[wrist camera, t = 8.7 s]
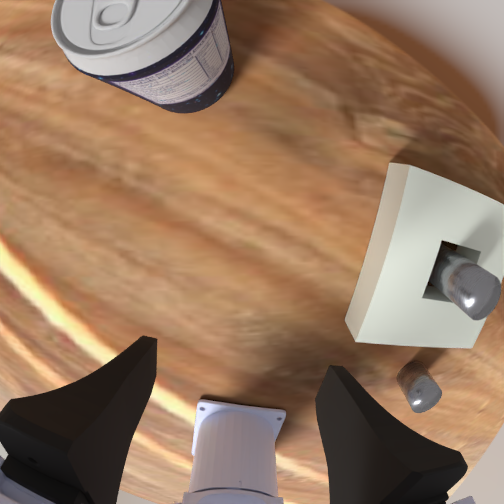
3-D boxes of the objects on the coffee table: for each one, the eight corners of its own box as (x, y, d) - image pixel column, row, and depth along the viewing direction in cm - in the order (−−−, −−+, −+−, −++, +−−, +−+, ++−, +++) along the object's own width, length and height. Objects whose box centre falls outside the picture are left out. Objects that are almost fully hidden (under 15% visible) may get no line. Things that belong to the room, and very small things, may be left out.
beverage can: (239, 37, 16) (225, -79, 5) (230, 117, 18) (197, 64, 7) (155, 37, 16) (67, -52, 5) (144, 114, 18) (26, 83, 6)
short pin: (415, 385, 25) (431, 411, 21) (391, 385, 25) (406, 413, 21) (428, 361, 24) (447, 387, 20) (404, 360, 24) (422, 388, 20)
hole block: (455, 331, 23) (471, 348, 20) (344, 320, 22) (355, 341, 20) (499, 206, 19) (522, 213, 17) (389, 162, 19) (409, 164, 16)
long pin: (440, 279, 21) (489, 321, 15) (412, 275, 21) (460, 319, 15) (451, 244, 21) (506, 278, 14) (423, 238, 20) (478, 272, 14)
